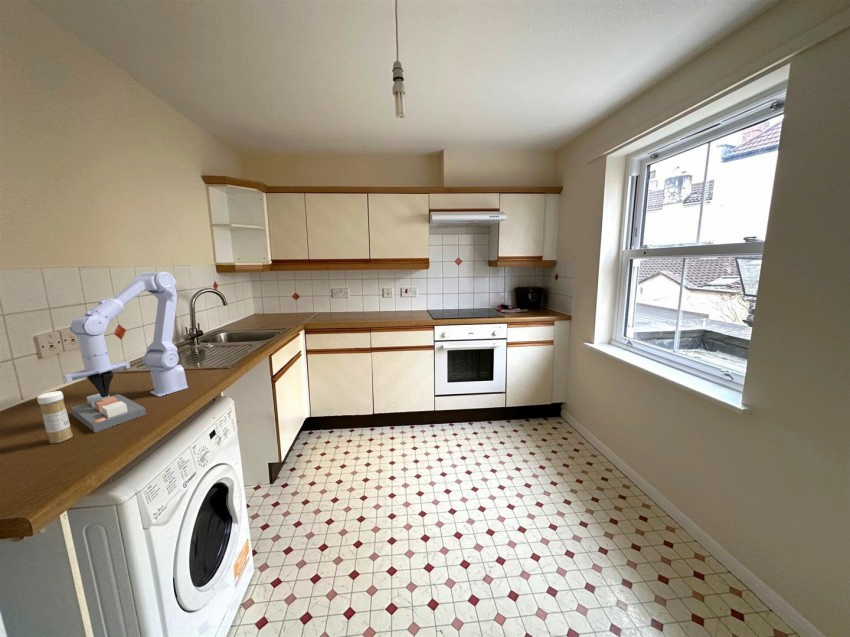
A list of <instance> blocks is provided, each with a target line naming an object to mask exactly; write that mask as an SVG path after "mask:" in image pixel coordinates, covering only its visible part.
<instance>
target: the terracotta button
mask: <svg viewBox="0 0 850 637" xmlns="http://www.w3.org/2000/svg"><path fill="white" fill-rule="evenodd" d="M111 396H112V397H108V398H105V399H101V400H98V401H94V405H95V409H96V411H97V412H98V413H100V412H103V411H102V406H106V405H109V404H112V403H116V402H118V399H116V398H115V397H113V396H114V395H111Z"/></svg>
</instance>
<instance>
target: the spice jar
mask: <svg viewBox="0 0 850 637" xmlns="http://www.w3.org/2000/svg"><path fill="white" fill-rule="evenodd" d="M36 400H37V403H38V405H39V406H40V410H41V411H40V412H41V415H42V418H43V424H44V427H45V431H46V432H47V436H48V439H49V440H48V442H49V443H50V444H58V443H62V442H65V441H67V440H70V439H72V438H73V436H74V435H73V432H72V428H71V424H70V420H69V416H68V412H67V408H66V405H65V402H64V393H63V392H62V391H61V390H58V391H57V390H56V391H50V392H46V393H43V394H40V395H38V396H37V398H36Z"/></svg>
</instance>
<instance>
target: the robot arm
mask: <svg viewBox="0 0 850 637" xmlns="http://www.w3.org/2000/svg"><path fill="white" fill-rule="evenodd" d="M176 284H177V280H176V278H174V276H173V275H172V274H171V273H169V272H168V271H156V272H147V271H144V272H141V273H140V274H138V275H136V276H135V277H134V278H133V279H132V281H130V283H129V284H128V285H126V286H125V287H124V288H123V289H122V290H121V291H120V292H118V293H117V294H116V295H115V296H114V297H112V298H104V299H100V300H99V301H97V303H98V304H97V305H96V306H94V307H93V308H92V309H90V310H87V311H85V312H84V315H83V316H82V315H81V316H77V317H75V318H74V319H73V320H72V322H71V325H70V326H69V327H68V329H69V330H70V332H71V333H72V334H74V335H75V336H76V339H77V341H78V345H79V350H80V354H81V358H82V362H83V366H84V367H83V368H84V369H83V370H80V371H79V370H78V371H76V372H72V373H71V372H70V373H68V374H64V375H63V376H64V377H63V378H64V381H65V382H66V383H70V382H73V381H77V380H82V379H87V380H88V381H89V382H90V383H91V384H92V385H93V386H94V388H96V390H97V391H98V394H99V393H100V396H101V397H107V396H109V395H110V394H109V392H110V391H109V390H110V386H111V383H112V379H113V378H114V373H113V372H116V371H120V370H124V369H130V368H131V364H130V361H122V362H116V363H111V362H110V356H109V352H108V348H107V343H106V338H105V334H104V333H106V331H107V328H108V325H109V324H110V323H111V322H112V321H113V320H114V319H116V318H117V317H118V316H119V315H121V314H122V313H123V312H124V310H125V309H124V306H125V305H126V304H128V303H129V302H131V301H132V300H133V299H135V298H137V296H139V295H140V294H142V293H143V292H148V293H150V294H152V295H153V296H154V297H155V298H156V299H157V307H156V315H155V324H154V331H153V339H152V342H151V343H150V344H149V345H148V346H147V347H146V352H145V353H144V355H143V358H142V363H143V365H144V366H145V367H147V368H148V370H149V371H150V377H151V381H152V385H153V389H154V390H151V391H149V393H150V394H152V395H154V396H156V397H162V396H166V394H167V395H169V394H172V393H176V392H180V391H183V390H186V389H188V388H189V386H188V383H187V377H186V373H185V369H184V367H183V365H182V364H178V363H179V359H180V358H179V354H178V348H177V346H176V345H175V344H174V343H173V336H174V330H175V329H174V328H175V321H176V320H175V319H176V312H177V304H178V303H177V302H178V292H177V290H176Z"/></svg>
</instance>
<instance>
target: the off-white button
mask: <svg viewBox="0 0 850 637" xmlns="http://www.w3.org/2000/svg"><path fill="white" fill-rule="evenodd" d="M102 411H103V415H104V417H106V418H110V417H114V416H117V415H120V414H123V413H126V412H128V410H127V406H126V404H125V403H124V402H122V401H119V402H116V403H112V404H109V405H106V406H102Z"/></svg>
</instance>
